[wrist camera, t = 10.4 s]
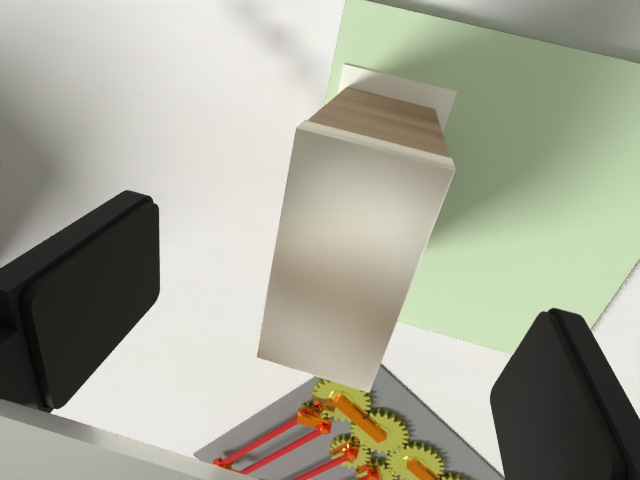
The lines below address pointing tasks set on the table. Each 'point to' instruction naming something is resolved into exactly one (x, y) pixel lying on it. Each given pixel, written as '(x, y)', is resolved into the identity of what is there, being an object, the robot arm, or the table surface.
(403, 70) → the green mat
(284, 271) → the walnut slab
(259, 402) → the table surface
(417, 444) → the gear board
